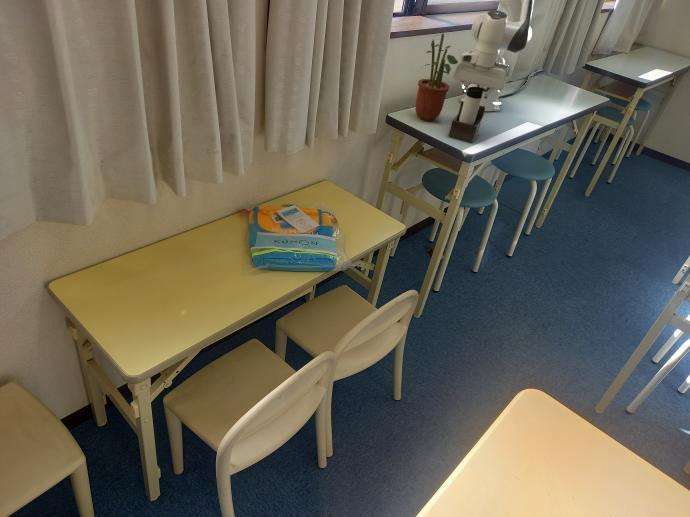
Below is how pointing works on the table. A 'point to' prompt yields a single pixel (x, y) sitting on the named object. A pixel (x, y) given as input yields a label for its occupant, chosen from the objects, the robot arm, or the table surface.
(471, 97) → the travel mug
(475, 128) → the brown hinged box
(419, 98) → the potted plant
